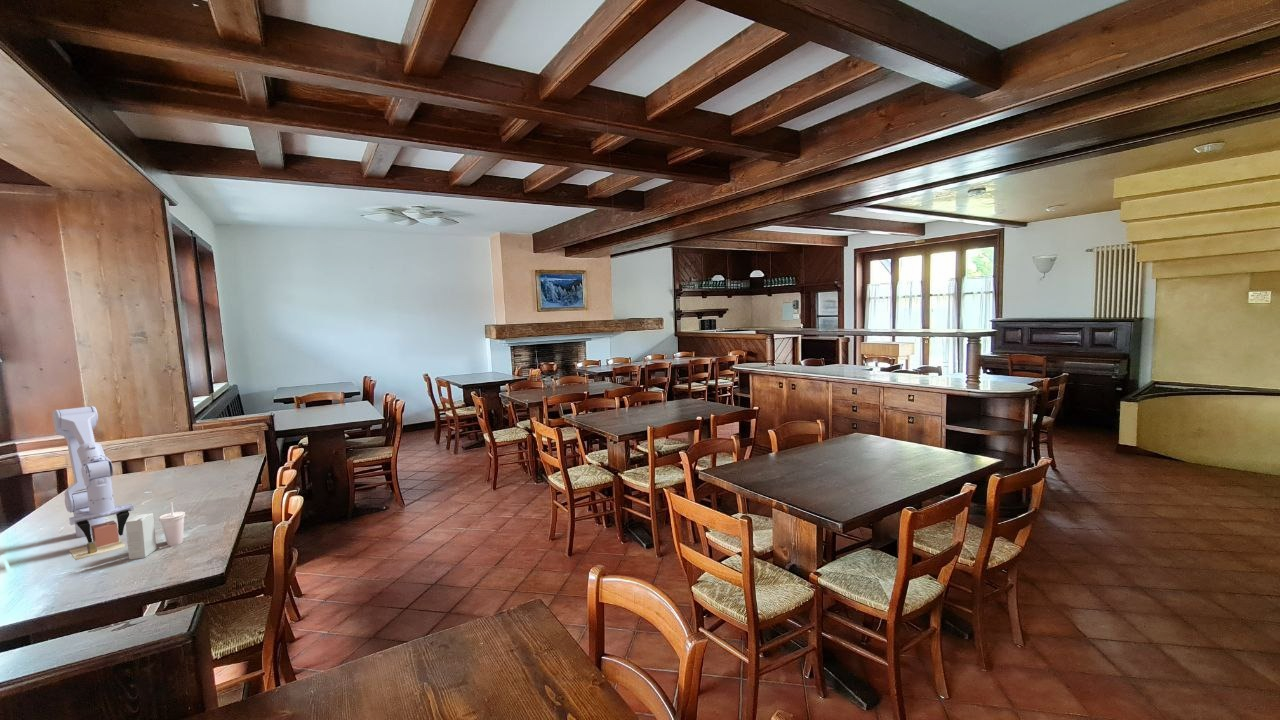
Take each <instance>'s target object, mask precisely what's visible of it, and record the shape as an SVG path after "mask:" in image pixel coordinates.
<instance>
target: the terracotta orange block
mask: <svg viewBox="0 0 1280 720" xmlns="http://www.w3.org/2000/svg"><path fill="white" fill-rule="evenodd" d="M91 530H92V535H91V538H92V542H96V546H97V547H101V546H104V545H108V544H112V543H116V542H119V540H120V538H119V536H120V535H119V533H118V522H116V521H114V520H110V521H106V523H101V524H97V525H93V526H91Z"/></svg>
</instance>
